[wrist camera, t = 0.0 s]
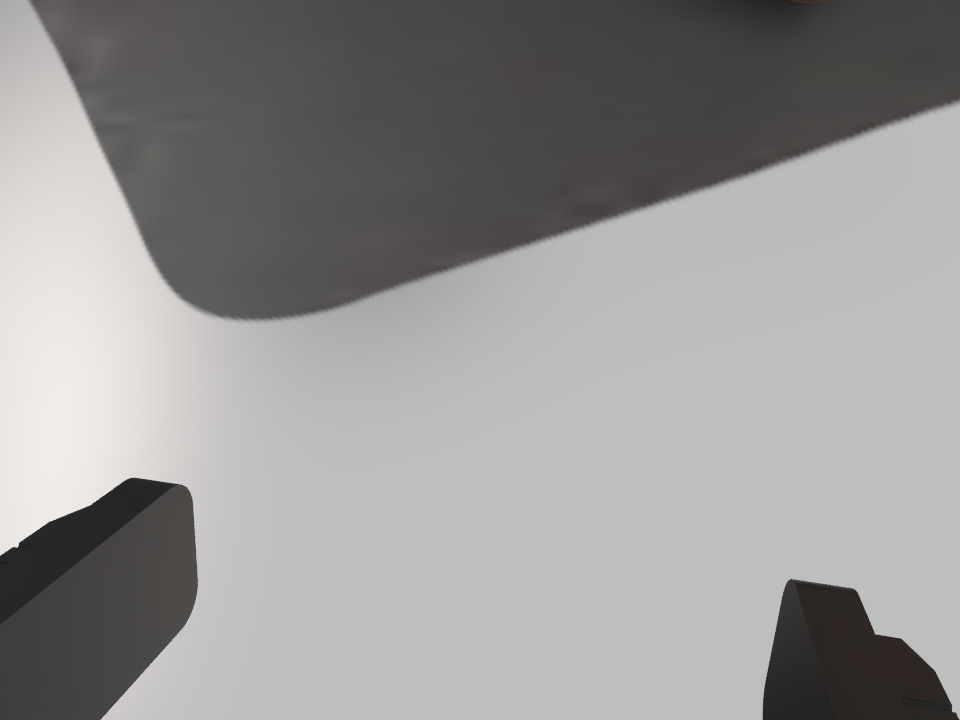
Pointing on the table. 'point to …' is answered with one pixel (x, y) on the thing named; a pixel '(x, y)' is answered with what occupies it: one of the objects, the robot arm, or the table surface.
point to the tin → (808, 1)
